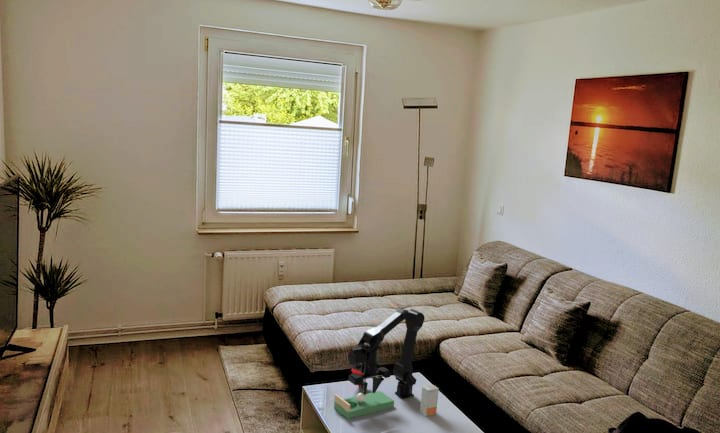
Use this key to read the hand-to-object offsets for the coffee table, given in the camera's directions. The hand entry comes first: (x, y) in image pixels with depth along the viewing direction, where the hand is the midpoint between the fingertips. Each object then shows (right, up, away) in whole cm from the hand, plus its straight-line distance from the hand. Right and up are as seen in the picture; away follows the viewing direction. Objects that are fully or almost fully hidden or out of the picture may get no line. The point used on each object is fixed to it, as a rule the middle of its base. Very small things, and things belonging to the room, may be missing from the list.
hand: (368, 394), depth 246 cm
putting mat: (-2, -6, 0) cm, 6 cm away
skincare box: (+26, -8, -2) cm, 27 cm away
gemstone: (-4, -3, +19) cm, 19 cm away
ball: (-3, -2, -1) cm, 4 cm away
